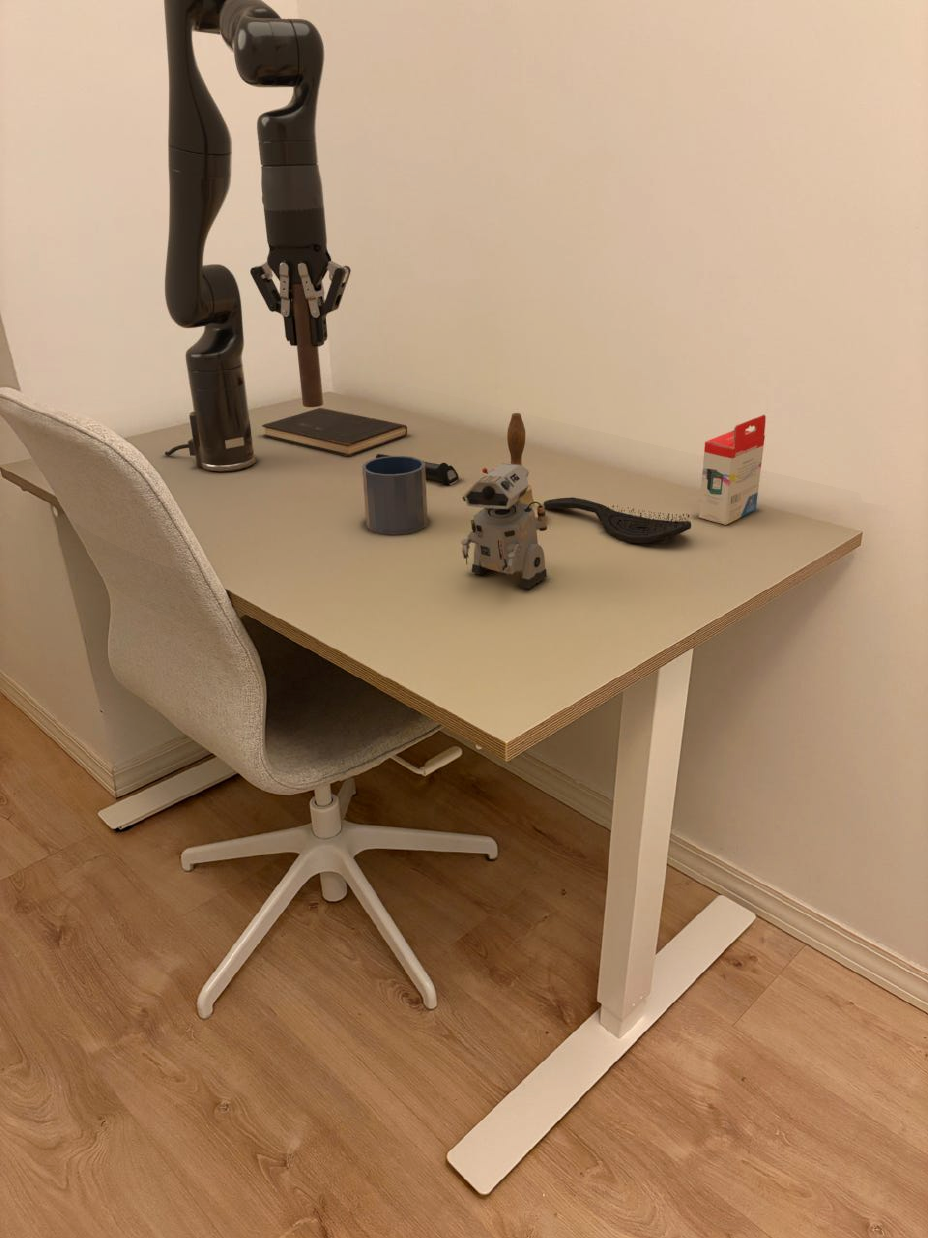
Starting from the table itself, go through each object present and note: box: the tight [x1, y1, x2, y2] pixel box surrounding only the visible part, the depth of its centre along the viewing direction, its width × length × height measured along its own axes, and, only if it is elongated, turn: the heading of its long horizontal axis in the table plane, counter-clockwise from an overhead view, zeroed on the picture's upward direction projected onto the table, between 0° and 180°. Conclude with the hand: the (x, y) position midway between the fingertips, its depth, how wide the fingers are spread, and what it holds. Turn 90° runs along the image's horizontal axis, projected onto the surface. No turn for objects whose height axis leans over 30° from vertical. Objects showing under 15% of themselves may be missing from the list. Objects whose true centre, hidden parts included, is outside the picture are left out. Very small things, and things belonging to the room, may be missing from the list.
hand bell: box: [506, 412, 538, 517], centre depth 140 cm, size 8×8×16 cm
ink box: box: [698, 414, 767, 526], centre depth 141 cm, size 8×5×15 cm, turn 134°
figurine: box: [460, 463, 548, 590], centre depth 121 cm, size 9×12×15 cm
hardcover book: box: [261, 407, 408, 458], centre depth 185 cm, size 16×23×2 cm
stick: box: [291, 284, 324, 408], centre depth 129 cm, size 3×3×16 cm
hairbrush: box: [543, 496, 692, 544], centre depth 141 cm, size 8×4×25 cm
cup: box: [361, 455, 428, 536], centre depth 142 cm, size 9×9×9 cm
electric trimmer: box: [375, 453, 459, 486], centre depth 163 cm, size 4×16×3 cm, turn 58°
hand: (307, 344), depth 129 cm, fingers closed on stick, 2 cm apart
